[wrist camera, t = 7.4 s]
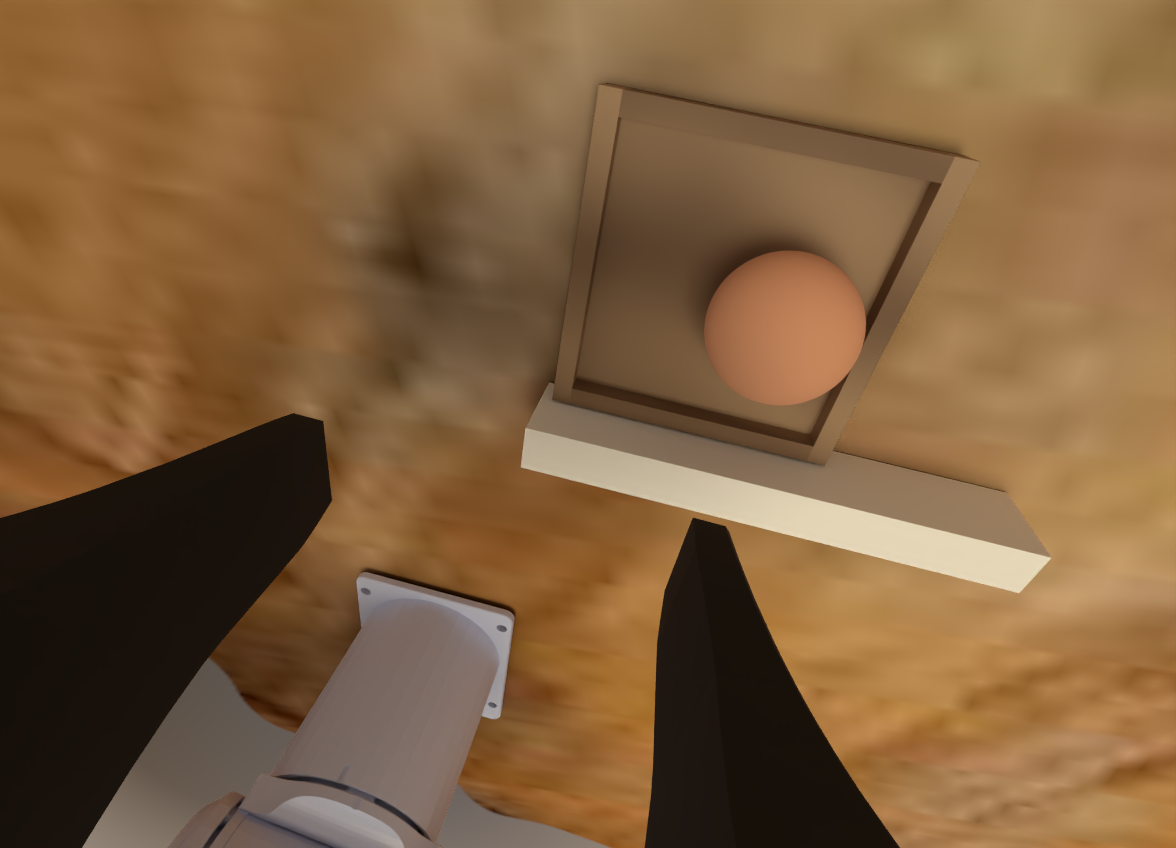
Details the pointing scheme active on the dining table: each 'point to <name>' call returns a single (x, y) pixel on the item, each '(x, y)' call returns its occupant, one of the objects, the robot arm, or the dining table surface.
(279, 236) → the dining table surface
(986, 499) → the strip
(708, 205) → the tray
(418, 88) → the dining table surface
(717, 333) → the ball
